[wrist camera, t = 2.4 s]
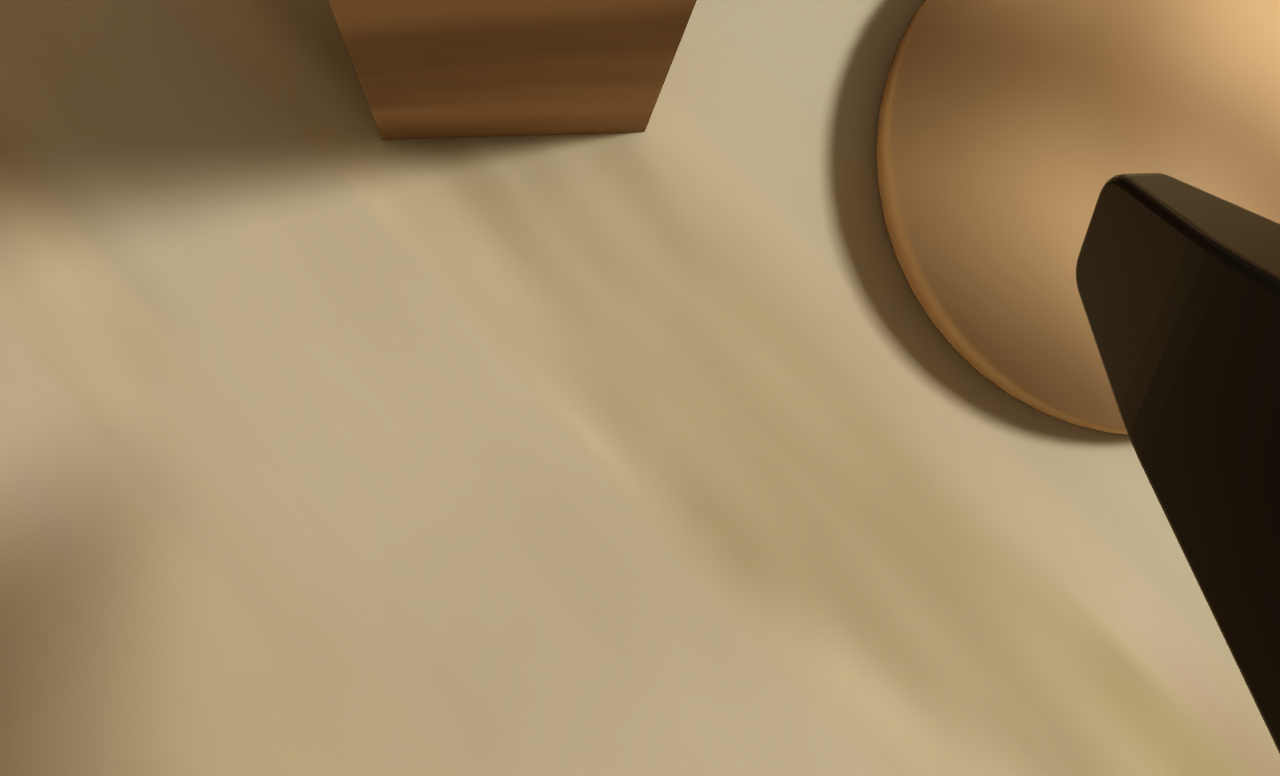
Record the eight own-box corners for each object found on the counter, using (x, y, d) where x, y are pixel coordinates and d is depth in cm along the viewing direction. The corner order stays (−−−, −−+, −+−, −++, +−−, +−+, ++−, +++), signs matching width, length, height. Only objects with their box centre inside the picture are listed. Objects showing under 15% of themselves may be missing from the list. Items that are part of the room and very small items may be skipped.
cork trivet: (1324, 502, 24) (1360, 503, 23) (812, 343, 23) (826, 337, 22) (1440, 0, 25) (1479, -20, 24) (956, -171, 24) (975, -199, 23)
